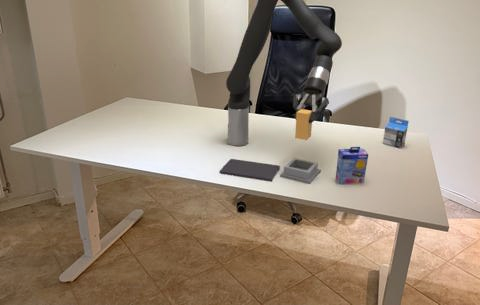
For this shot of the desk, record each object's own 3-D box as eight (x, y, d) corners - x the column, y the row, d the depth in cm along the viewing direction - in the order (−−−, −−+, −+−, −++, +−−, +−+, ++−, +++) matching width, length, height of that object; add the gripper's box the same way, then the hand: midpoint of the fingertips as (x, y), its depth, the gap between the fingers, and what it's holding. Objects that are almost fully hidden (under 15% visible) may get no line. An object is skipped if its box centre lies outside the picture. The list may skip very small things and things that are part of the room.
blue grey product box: (382, 143, 183) (385, 118, 178) (385, 141, 185) (389, 116, 180) (401, 148, 177) (405, 122, 172) (404, 146, 180) (409, 120, 175)
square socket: (280, 176, 151) (280, 167, 150) (292, 165, 161) (292, 156, 159) (309, 184, 146) (310, 174, 144) (320, 171, 156) (321, 162, 154)
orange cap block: (295, 138, 147) (296, 112, 143) (299, 134, 150) (301, 109, 146) (306, 140, 145) (308, 114, 141) (311, 136, 148) (312, 110, 144)
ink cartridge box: (338, 184, 146) (343, 148, 140) (334, 178, 151) (338, 142, 145) (365, 183, 146) (370, 147, 141) (359, 177, 151) (364, 141, 146)
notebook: (219, 174, 154) (272, 183, 148) (219, 171, 154) (272, 179, 147) (230, 161, 165) (280, 169, 159) (230, 158, 165) (280, 165, 158)
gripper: (297, 74, 149) (282, 113, 144) (334, 78, 143) (320, 119, 138) (301, 85, 155) (287, 123, 151) (337, 89, 149) (323, 129, 144)
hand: (303, 121), depth 144 cm, fingers closed on orange cap block, 4 cm apart
